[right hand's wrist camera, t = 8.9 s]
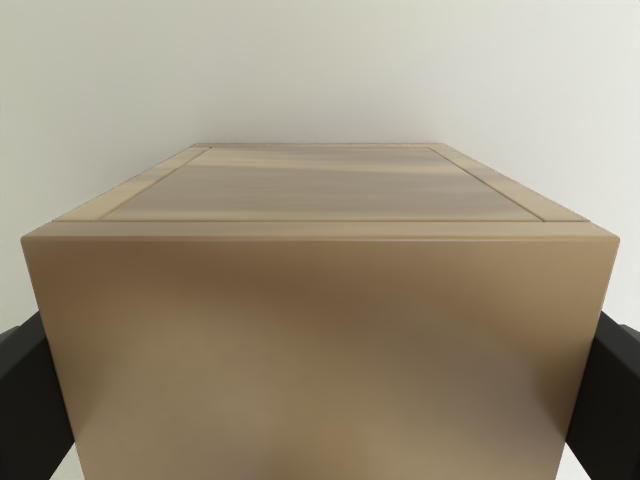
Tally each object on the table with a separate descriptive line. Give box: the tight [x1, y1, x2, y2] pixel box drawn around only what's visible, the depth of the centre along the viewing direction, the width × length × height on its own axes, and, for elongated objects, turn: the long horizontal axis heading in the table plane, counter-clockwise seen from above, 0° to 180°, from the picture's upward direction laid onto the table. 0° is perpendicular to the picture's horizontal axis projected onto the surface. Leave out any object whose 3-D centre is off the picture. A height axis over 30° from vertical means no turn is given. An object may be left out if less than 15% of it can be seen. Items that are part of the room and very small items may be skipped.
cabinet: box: [21, 144, 620, 480], centre depth 16 cm, size 17×11×12 cm, turn 0°
